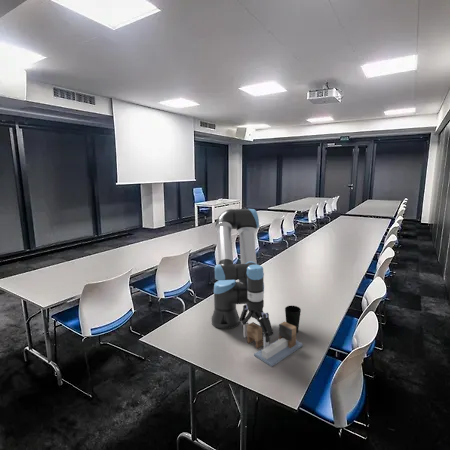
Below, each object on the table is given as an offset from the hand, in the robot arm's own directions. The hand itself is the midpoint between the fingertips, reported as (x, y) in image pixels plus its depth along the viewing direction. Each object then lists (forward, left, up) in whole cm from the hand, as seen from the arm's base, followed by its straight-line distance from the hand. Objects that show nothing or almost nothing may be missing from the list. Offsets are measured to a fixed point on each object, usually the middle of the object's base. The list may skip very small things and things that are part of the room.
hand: (255, 341), depth 138 cm
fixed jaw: (+11, +10, 0) cm, 15 cm away
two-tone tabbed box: (0, 0, -1) cm, 1 cm away
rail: (+11, +4, -1) cm, 11 cm away
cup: (+5, +22, -1) cm, 23 cm away
